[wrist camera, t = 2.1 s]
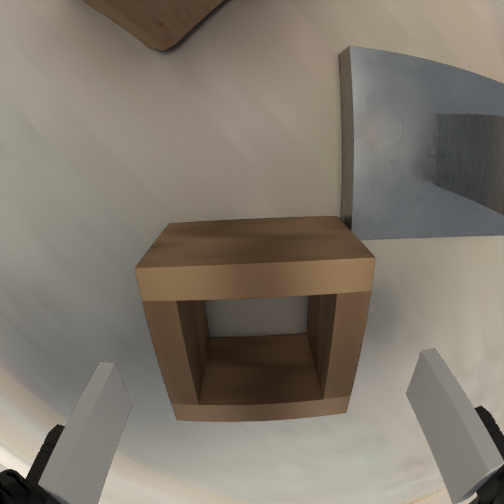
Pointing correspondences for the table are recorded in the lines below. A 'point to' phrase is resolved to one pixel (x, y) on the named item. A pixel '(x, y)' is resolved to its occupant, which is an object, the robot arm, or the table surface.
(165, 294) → the wooden cube shelf
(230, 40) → the table surface
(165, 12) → the block
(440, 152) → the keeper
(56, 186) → the table surface
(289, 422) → the table surface
